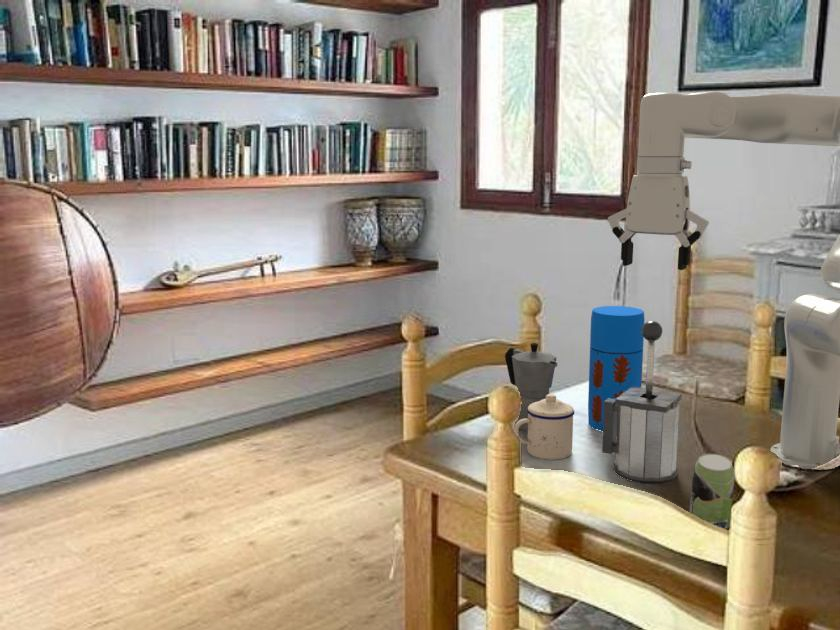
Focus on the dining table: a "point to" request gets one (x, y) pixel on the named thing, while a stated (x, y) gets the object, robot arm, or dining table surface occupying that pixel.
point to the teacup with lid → (548, 428)
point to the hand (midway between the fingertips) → (654, 266)
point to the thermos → (613, 356)
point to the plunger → (650, 352)
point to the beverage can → (712, 489)
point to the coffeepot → (530, 376)
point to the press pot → (642, 434)
